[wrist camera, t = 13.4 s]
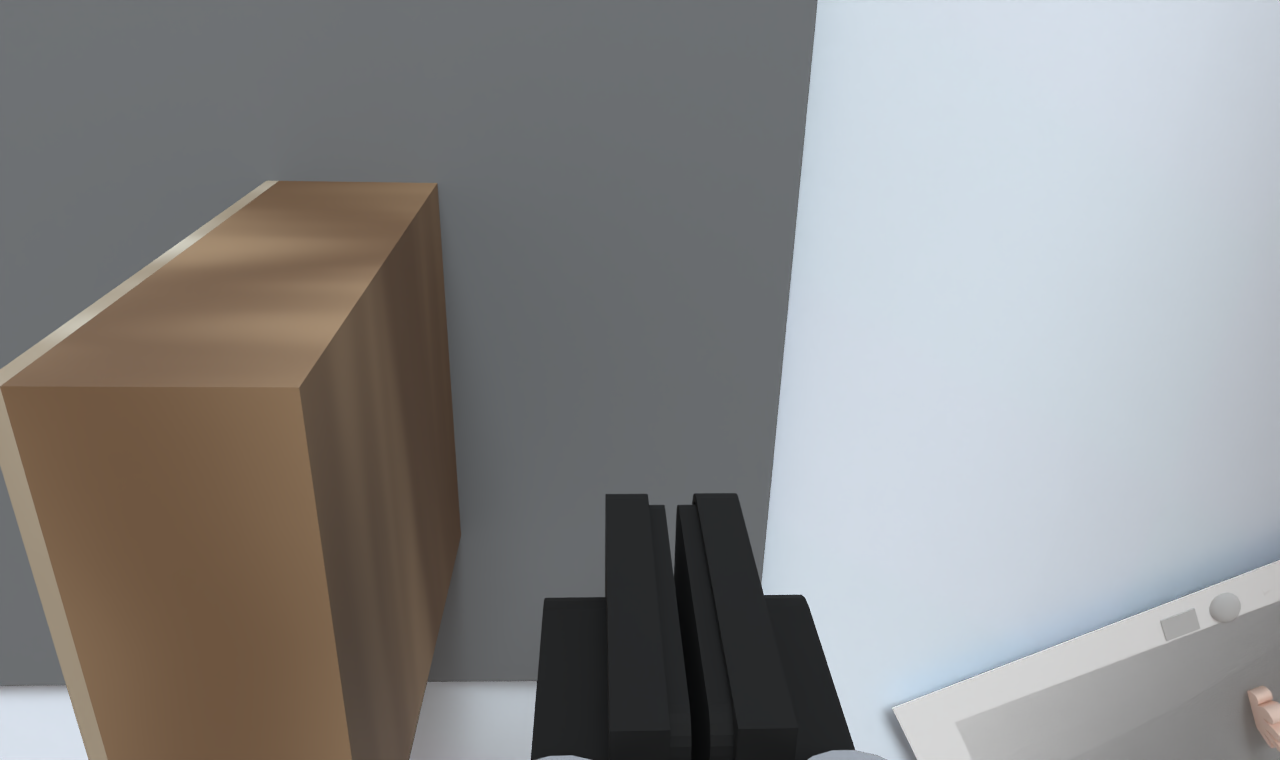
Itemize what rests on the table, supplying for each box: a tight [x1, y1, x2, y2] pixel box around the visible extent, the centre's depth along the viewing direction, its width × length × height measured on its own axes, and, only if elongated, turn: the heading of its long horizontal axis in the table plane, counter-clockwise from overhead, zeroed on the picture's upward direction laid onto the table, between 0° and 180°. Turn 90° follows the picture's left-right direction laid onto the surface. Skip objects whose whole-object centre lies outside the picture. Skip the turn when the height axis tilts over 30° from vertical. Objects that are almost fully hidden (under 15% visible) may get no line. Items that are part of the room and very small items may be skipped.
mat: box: [0, 0, 817, 686], centre depth 17 cm, size 18×14×1 cm
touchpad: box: [892, 560, 1280, 760], centre depth 21 cm, size 8×15×2 cm, turn 116°
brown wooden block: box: [0, 181, 461, 760], centre depth 13 cm, size 3×7×8 cm, turn 179°
